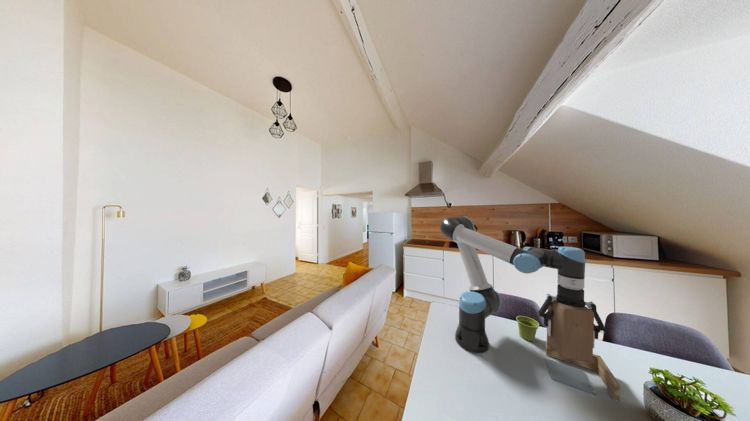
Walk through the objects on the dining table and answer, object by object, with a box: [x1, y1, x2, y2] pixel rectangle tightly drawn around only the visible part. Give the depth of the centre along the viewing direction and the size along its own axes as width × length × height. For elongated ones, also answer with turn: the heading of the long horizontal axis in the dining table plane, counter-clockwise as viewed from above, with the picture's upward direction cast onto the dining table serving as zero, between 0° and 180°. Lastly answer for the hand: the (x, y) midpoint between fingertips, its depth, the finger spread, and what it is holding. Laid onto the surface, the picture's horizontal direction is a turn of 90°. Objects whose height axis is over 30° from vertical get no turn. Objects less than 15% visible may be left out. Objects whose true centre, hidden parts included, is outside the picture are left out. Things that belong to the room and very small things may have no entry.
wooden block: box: [546, 300, 595, 362], centre depth 78 cm, size 10×10×20 cm
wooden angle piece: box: [545, 340, 621, 402], centre depth 78 cm, size 17×15×6 cm
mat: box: [544, 357, 596, 396], centre depth 78 cm, size 12×12×1 cm
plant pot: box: [515, 315, 540, 342], centre depth 100 cm, size 9×9×9 cm
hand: (569, 339), depth 78 cm, fingers closed on wooden block, 12 cm apart
